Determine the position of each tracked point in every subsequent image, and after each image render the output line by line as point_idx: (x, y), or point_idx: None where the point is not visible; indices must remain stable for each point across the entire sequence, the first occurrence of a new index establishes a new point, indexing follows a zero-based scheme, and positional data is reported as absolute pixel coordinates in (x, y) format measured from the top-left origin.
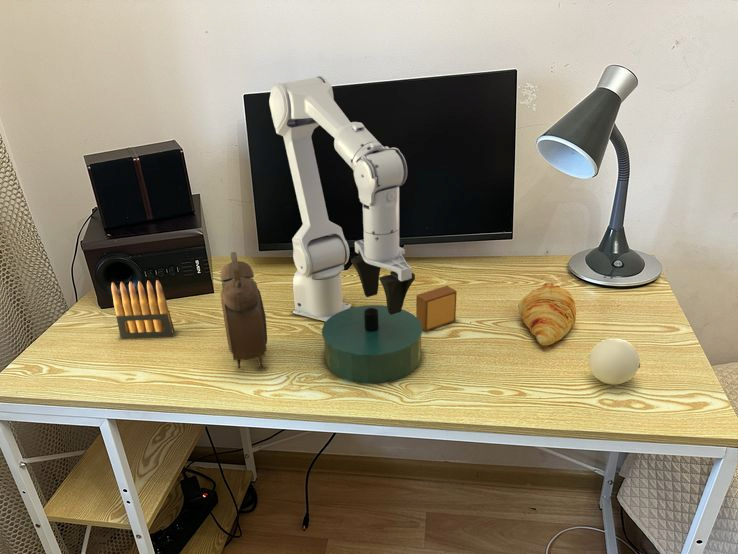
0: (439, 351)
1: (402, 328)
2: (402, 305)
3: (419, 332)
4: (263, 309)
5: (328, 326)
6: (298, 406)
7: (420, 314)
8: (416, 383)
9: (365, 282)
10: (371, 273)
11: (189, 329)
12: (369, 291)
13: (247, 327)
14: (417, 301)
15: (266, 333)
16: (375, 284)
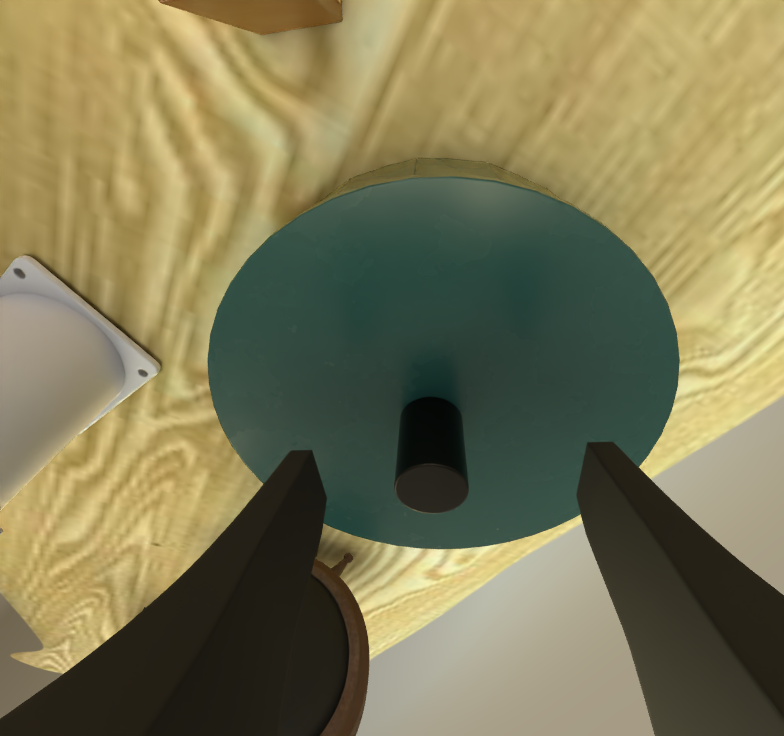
0: (555, 61)
1: (517, 314)
2: (643, 473)
3: (618, 257)
4: (290, 716)
5: (338, 516)
6: (531, 546)
7: (271, 16)
8: (674, 292)
9: (295, 600)
10: (261, 640)
11: (136, 591)
12: (316, 518)
13: (358, 727)
14: (200, 9)
15: (330, 639)
16: (291, 519)
